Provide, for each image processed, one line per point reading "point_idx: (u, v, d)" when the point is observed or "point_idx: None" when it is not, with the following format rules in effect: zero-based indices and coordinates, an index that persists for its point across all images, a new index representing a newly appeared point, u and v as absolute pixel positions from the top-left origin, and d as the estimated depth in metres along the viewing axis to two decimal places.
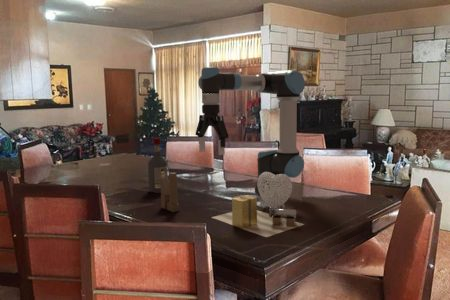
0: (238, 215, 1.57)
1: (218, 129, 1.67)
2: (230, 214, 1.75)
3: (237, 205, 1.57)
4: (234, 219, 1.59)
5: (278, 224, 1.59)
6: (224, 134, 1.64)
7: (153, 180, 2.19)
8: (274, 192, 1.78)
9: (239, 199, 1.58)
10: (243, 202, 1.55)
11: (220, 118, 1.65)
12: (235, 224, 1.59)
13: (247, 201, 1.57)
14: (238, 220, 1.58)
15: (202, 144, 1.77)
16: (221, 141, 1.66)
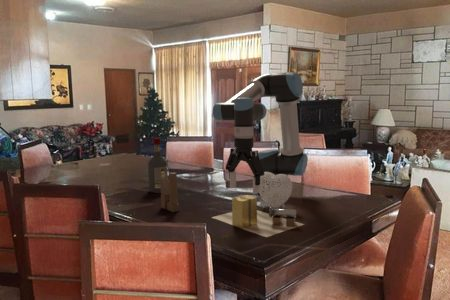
0: (238, 215, 1.57)
1: (252, 165, 1.53)
2: (230, 214, 1.75)
3: (237, 205, 1.57)
4: (234, 219, 1.59)
5: (278, 224, 1.59)
6: (260, 171, 1.50)
7: (153, 180, 2.19)
8: (274, 192, 1.78)
9: (239, 199, 1.58)
10: (243, 202, 1.55)
11: (255, 154, 1.52)
12: (235, 224, 1.59)
13: (247, 201, 1.57)
14: (238, 220, 1.58)
15: (233, 180, 1.63)
16: (256, 179, 1.52)
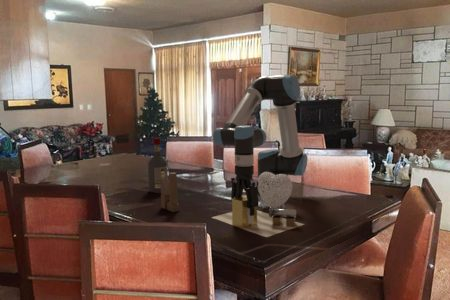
0: (238, 215, 1.57)
1: (249, 195, 1.56)
2: (230, 214, 1.75)
3: (237, 205, 1.57)
4: (234, 219, 1.59)
5: (278, 224, 1.59)
6: (254, 203, 1.54)
7: (153, 180, 2.19)
8: (274, 192, 1.78)
9: (239, 199, 1.58)
10: (243, 202, 1.55)
11: (255, 185, 1.54)
12: (235, 224, 1.59)
13: (247, 201, 1.57)
14: (238, 220, 1.58)
15: None
16: (250, 209, 1.56)
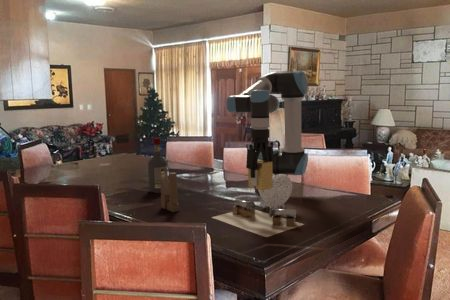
0: None
1: (253, 158, 1.61)
2: (230, 214, 1.75)
3: None
4: None
5: (278, 224, 1.59)
6: (247, 165, 1.60)
7: (153, 180, 2.19)
8: (274, 192, 1.78)
9: None
10: None
11: (247, 147, 1.59)
12: None
13: None
14: None
15: None
16: None
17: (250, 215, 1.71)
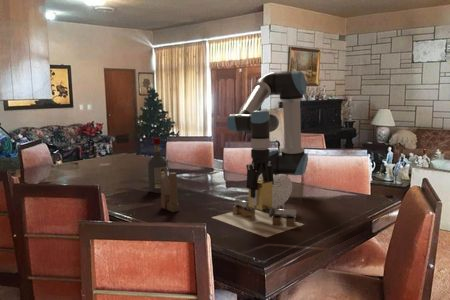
0: None
1: (253, 178, 1.62)
2: (230, 214, 1.75)
3: None
4: None
5: (278, 224, 1.59)
6: (247, 185, 1.61)
7: (153, 180, 2.19)
8: (274, 192, 1.78)
9: None
10: None
11: (248, 168, 1.60)
12: None
13: None
14: None
15: None
16: None
17: (250, 215, 1.71)
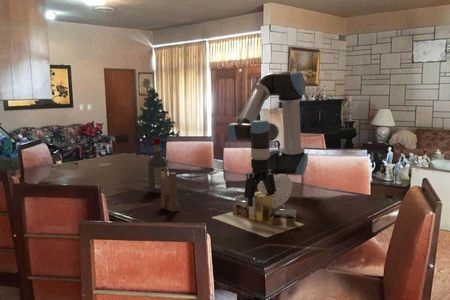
0: None
1: (251, 187, 1.62)
2: (230, 214, 1.75)
3: None
4: None
5: (278, 224, 1.59)
6: (245, 193, 1.61)
7: (153, 180, 2.19)
8: None
9: (255, 193, 1.67)
10: None
11: (247, 176, 1.60)
12: None
13: None
14: None
15: None
16: None
17: None
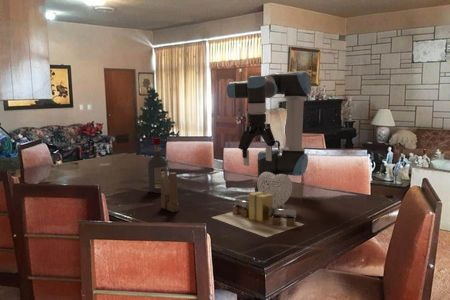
0: None
1: (247, 139, 1.66)
2: (230, 214, 1.75)
3: None
4: None
5: (278, 224, 1.59)
6: (240, 145, 1.63)
7: (153, 180, 2.19)
8: (274, 192, 1.78)
9: (255, 193, 1.67)
10: (249, 195, 1.66)
11: (244, 128, 1.64)
12: None
13: (253, 196, 1.64)
14: None
15: (267, 153, 1.74)
16: None
17: None
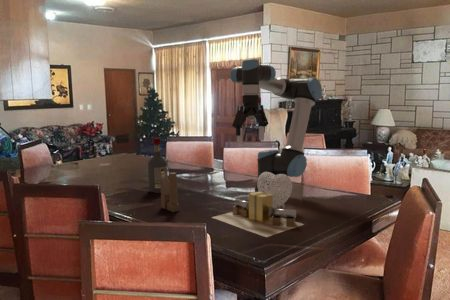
0: None
1: (241, 118, 1.77)
2: (230, 214, 1.75)
3: None
4: None
5: (278, 224, 1.59)
6: (233, 123, 1.74)
7: (153, 180, 2.19)
8: (274, 192, 1.78)
9: (255, 193, 1.67)
10: (249, 195, 1.66)
11: (238, 108, 1.75)
12: None
13: (253, 196, 1.64)
14: None
15: (260, 133, 1.85)
16: None
17: None
